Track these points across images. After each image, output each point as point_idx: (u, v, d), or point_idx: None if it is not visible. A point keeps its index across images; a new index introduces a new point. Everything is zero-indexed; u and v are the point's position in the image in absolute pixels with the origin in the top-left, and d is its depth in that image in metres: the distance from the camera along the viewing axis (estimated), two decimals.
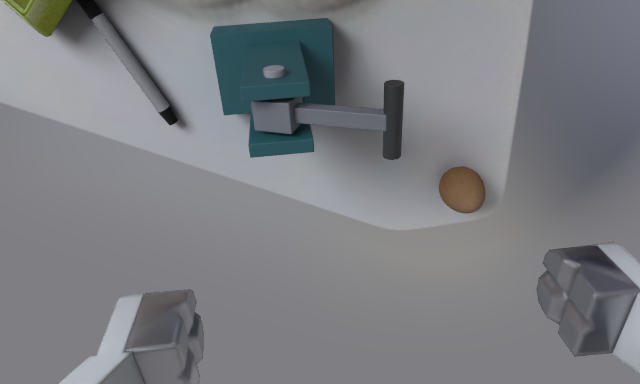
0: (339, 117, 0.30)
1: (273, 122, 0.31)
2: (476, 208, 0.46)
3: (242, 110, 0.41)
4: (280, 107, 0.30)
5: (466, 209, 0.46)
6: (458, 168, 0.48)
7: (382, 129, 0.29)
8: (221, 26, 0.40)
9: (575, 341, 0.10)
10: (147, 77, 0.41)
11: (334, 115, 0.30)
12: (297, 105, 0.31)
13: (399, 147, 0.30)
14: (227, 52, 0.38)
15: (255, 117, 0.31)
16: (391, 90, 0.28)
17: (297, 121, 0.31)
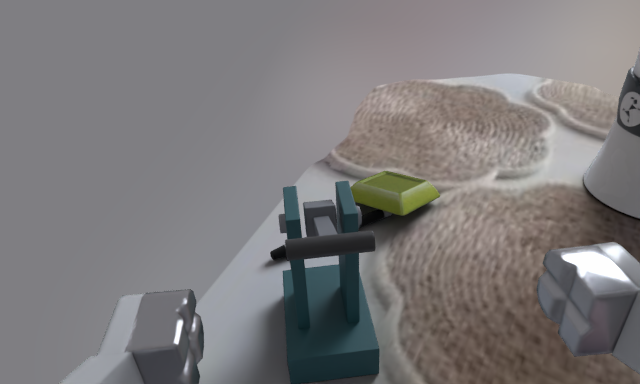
0: (326, 224, 0.29)
1: (314, 204, 0.34)
2: None
3: (286, 282, 0.41)
4: (330, 204, 0.33)
5: None
6: None
7: (321, 235, 0.27)
8: None
9: (575, 341, 0.10)
10: None
11: (327, 223, 0.30)
12: None
13: (300, 247, 0.25)
14: None
15: (316, 201, 0.35)
16: (367, 231, 0.26)
17: (315, 217, 0.32)
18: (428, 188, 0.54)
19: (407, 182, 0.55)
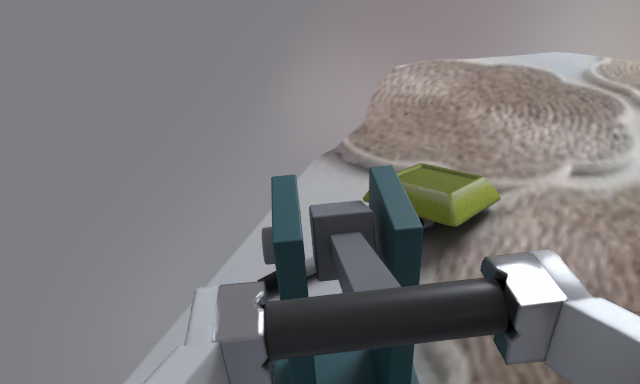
0: (362, 254, 0.13)
1: (330, 209, 0.17)
2: None
3: None
4: (363, 208, 0.17)
5: None
6: None
7: (357, 289, 0.10)
8: None
9: (506, 348, 0.10)
10: None
11: (364, 251, 0.14)
12: None
13: (304, 327, 0.09)
14: None
15: (333, 203, 0.19)
16: (481, 280, 0.10)
17: (333, 235, 0.16)
18: (486, 187, 0.38)
19: (454, 178, 0.39)
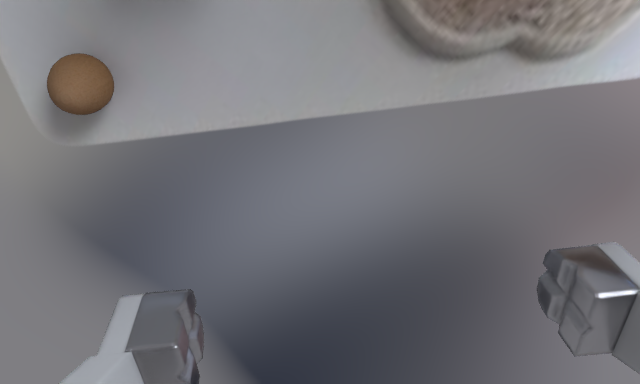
0: None
1: None
2: (63, 104, 0.33)
3: None
4: None
5: (57, 90, 0.32)
6: (111, 75, 0.36)
7: None
8: None
9: (575, 341, 0.10)
10: None
11: None
12: None
13: None
14: None
15: None
16: None
17: None
18: None
19: None
